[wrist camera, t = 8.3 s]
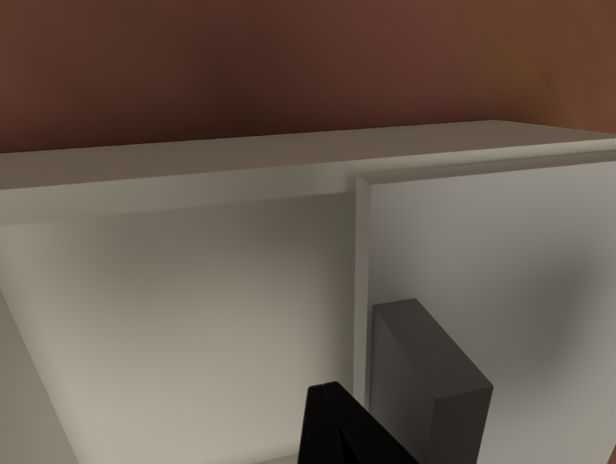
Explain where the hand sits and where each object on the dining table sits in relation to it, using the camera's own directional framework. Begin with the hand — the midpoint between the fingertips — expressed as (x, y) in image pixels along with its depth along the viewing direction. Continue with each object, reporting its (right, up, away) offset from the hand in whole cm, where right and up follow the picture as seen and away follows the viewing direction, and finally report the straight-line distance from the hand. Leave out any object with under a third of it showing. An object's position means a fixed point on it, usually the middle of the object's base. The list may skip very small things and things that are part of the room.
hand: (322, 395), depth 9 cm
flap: (+7, -2, +4) cm, 8 cm away
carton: (-2, -1, +8) cm, 9 cm away
